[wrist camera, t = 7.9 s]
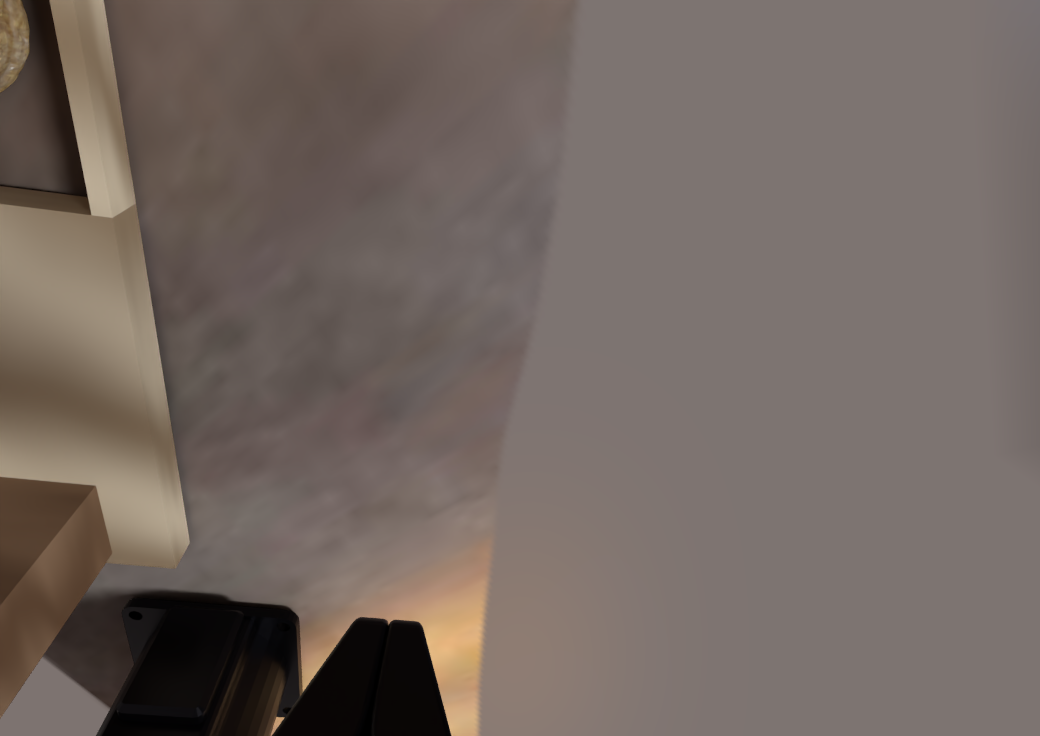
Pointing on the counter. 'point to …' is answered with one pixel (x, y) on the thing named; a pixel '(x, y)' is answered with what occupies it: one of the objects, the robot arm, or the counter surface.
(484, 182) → the counter surface
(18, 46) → the sprinkles bottle
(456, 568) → the counter surface
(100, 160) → the wooden stand
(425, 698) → the robot arm
